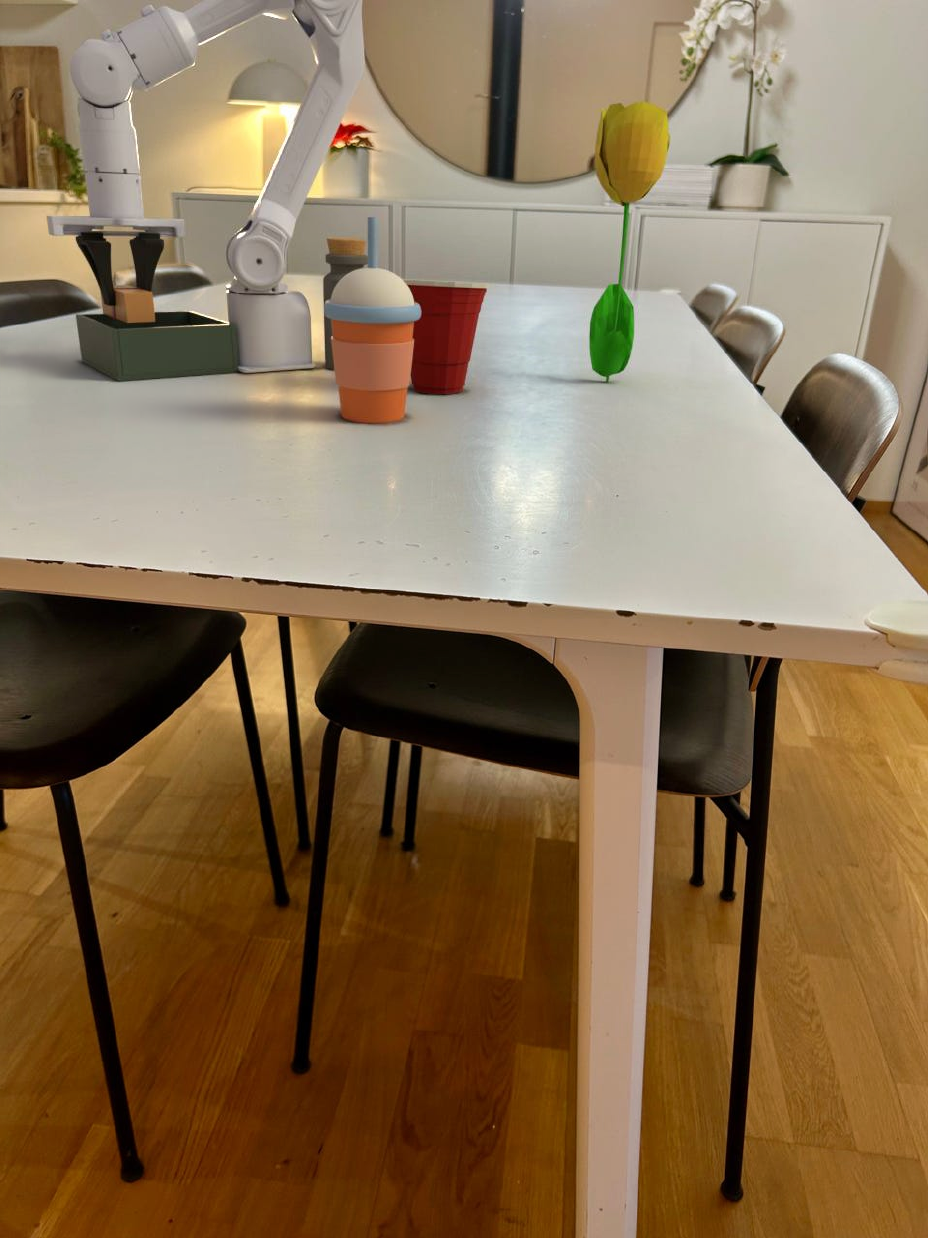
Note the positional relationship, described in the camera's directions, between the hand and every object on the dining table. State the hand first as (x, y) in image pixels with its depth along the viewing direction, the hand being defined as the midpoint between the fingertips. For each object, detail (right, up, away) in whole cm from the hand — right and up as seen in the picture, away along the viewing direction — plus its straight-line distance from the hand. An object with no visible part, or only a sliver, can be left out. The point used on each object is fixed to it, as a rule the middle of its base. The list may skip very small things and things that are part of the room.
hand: (127, 304), depth 104 cm
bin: (+2, -6, +5) cm, 8 cm away
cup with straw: (+30, -17, -16) cm, 38 cm away
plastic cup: (+36, -10, -1) cm, 38 cm away
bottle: (+24, -5, +10) cm, 27 cm away
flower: (+57, -7, +7) cm, 58 cm away
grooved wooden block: (0, -1, +1) cm, 2 cm away
